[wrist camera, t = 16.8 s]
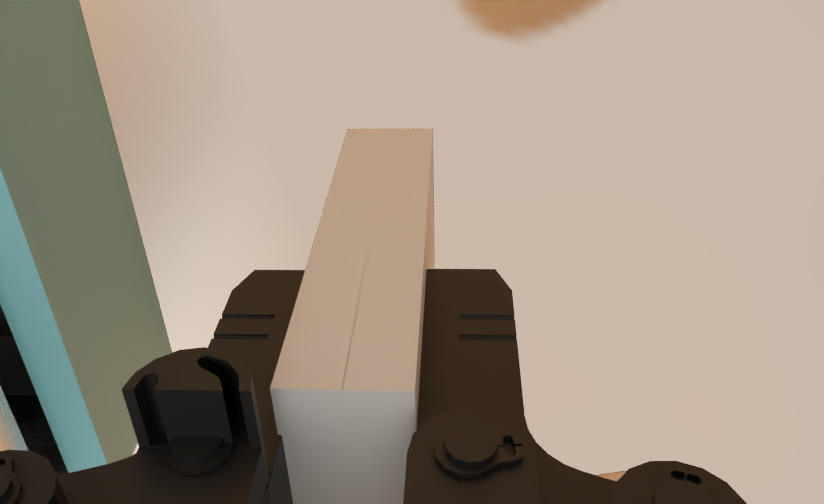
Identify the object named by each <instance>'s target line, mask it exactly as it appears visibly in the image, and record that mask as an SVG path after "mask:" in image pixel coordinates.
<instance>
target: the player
mask: <svg viewBox="0 0 824 504" xmlns="http://www.w3.org/2000/svg"><path fill="white" fill-rule="evenodd" d="M4 450H25V451H33V452H35V453H37V454H39V455H41V456H43V457H45V458H47V459H48V460H49V462H50V463H51V465H52V467H53V469H54V471H55V472H56V474H57V476H58V475H63V474H67V473H68V471H67V468H66V466H65V463H64V461H63V458H62V456H61V453H60V451H59V448H58V446H57V443H56V441H55V438H54V436H53V433H52V431H51V428H50V426H49V423H48V421H47V418H46V416H45V414H44V411H43V409H42V406H41V404H40V401H39V399H38V396H37V395H4V393H3V391H2V388H1V386H0V451H4Z"/></svg>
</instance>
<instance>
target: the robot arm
mask: <svg viewBox="0 0 824 504" xmlns="http://www.w3.org/2000/svg"><path fill="white" fill-rule="evenodd" d="M433 189H434V187H433V129H348V130H347V132H346V136H345V139H344V142H343V146H342V149H341V153H340V156H339V159H338V163H337V166H336V169H335V173H334V176H333V179H332V183H331V186H330V189H329V193H328V197H327V199H326V203H325V206H324V209H323V213H322V216H321V220H320V223H319V226H318V229H317V233H316V236H315V240H314V243H313V246H312V250H311V253H310V256H309V260H308V263H307V266H306V270H254V271H253V272H252V273H251V274H250V275H249V276H248V277H247V278H245V279H244V280H243V281H242V282H241V283H240V284H239V285H238V286H237V287H236V288H234V289H233V290H232V292H231V295H230V297H229V299H228V302H227V304H226V306H225V309H224V311H223V313H222V319H220V321H219V323H218V325H217V328H216V330H215V332H214V339H211V342H210V344H209V346H208V348H195V349H186V350H179V351H176V352H173V353H170V354H168V355H165V356H162V357H159V358H156V359H154V360H153V361H151V362H150V363H148V364H147V365H145V366H144V367H142V368H141V369H139V370H138V371H136V372H135V373H134V374H133V376H132V377H131V378H130V379H129V380H128V382H127V383H126V384H125V385H124V387H123V388H122V389H121V390H122V393H123V396H124V399H125V402H126V406H127V409H128V412H129V415H130V419H131V422H132V425H133V428H134V431H135V435H136V438H137V441H138V444H139V449H138V451H137V453H136V454H134V455H132V456H130V457H128V458H125V459H122V460H119V461H116V462H112V463H109V464H105V465H101V466H97V467H93V468H88V469H84V470H80V471H75V472H71V473H67V474H63V475H58V476H57V474H56V472H55V471H54V469H53V467H52V465H51V463H50V462H49V460H48V459H47V458H45V457H43V456H41V455H39V454H37V453H35V452H33V451H25V450H4V451H0V504H746V502H745V501H744V500H742V498H741V497H740V496H739V495H738V494H737V493H736V492H735V491H734V490H733V489H732V488H731V487H730V486H729V485H728V483H727V482H725V481H723V480H721V479H720V478H718V477H716V476H715V475H713V474H711V473H709V472H708V471H706V470H704V469H703V468H699V467H695V466H692V465H688V464H684V463H681V462H677V461H650V462H647V463H644V464H642V465H639V466H636V467H633V468H630V469H628V470H627V471H626V472H625V473H624V474H623V476H622V477H621V478H620V479H619V480H618V481H613V480H610V479H606V478H603V477H599V476H596V475H592V474H589V473H585V472H582V471H580V470H577V469H575V468H572V467H569V466H567V465H564V464H563V463H561V462H560V461H558V460H556V459H555V458H553V457H552V456H550V455H549V454H547V453H546V452H545V451H544V450H543V449H542V448H541V447H540V446H539V445H538V444H537V443H536V442H535V440H534V438H533V437H532V435H531V433H530V432H529V430H528V428H527V424H526V420H525V417H524V407H523V398H522V387H521V377H520V368H519V358H518V347H517V340H516V327H515V320H514V308H513V297H512V290H511V289H510V288H509V287H508V285H507V284H506V283H505V281H504V280H503V279H502V278H501V276H500V275H499V274H498V272H497V271H496V270H494V269H492V270H491V269H490V270H489V269H487V270H486V269H434V190H433Z"/></svg>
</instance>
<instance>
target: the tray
mask: <svg viewBox="0 0 824 504" xmlns="http://www.w3.org/2000/svg"><path fill="white" fill-rule="evenodd" d="M170 353H172V351H171V347H170V343H169V339H168V336H167V332H166V328H165V324H164V320H163V317H162V313H161V309H160V305H159V301H158V298H157V294H156V290H155V287H154V283H153V279H152V275H151V271H150V267H149V264H148V260H147V256H146V252H145V248H144V245H143V241H142V237H141V233H140V230H139V226H138V222H137V218H136V215H135V211H134V207H133V203H132V200H131V196H130V192H129V188H128V184H127V181H126V177H125V173H124V169H123V165H122V162H121V158H120V154H119V150H118V146H117V143H116V139H115V135H114V131H113V127H112V124H111V120H110V117H109V112H108V109H107V105H106V101H105V97H104V93H103V90H102V86H101V82H100V78H99V74H98V71H97V67H96V63H95V59H94V56H93V52H92V48H91V44H90V41H89V37H88V33H87V29H86V26H85V22H84V18H83V14H82V10H81V7H80V3H79V0H0V386H1V388H2V391H3V393H4V395H37V396H38V399H39V401H40V404H41V406H42V409H43V411H44V414H45V416H46V418H47V421H48V423H49V426H50V428H51V431H52V433H53V436H54V438H55V441H56V443H57V446H58V448H59V451H60V453H61V456H62V458H63V461H64V463H65V466H66V468H67V471H68V473H71V472H75V471H80V470H84V469H88V468H93V467H97V466H101V465H105V464H109V463H112V462H116V461H119V460H122V459H125V458H128V457H130V456H132V454H133V452H134V450H135V447H136V445H137V443H138V441H137V438H136V435H135V431H134V428H133V425H132V422H131V419H130V415H129V412H128V409H127V406H126V402H125V399H124V396H123V393H122V390H121V389H122V388H123V387H124V385H125V384H126V383H127V382H128V380H129V379H130V378H131V377H132V376H133V374H134V373H135V372H136V371H138V370H139V369H141V368H142V367H144V366H145V365H147V364H148V363H150V362H151V361H153V360H154V359H156V358H159V357H162V356H165V355H168V354H170Z"/></svg>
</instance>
